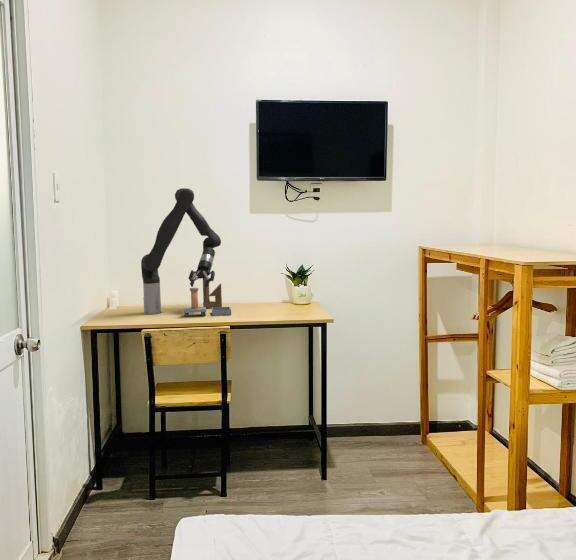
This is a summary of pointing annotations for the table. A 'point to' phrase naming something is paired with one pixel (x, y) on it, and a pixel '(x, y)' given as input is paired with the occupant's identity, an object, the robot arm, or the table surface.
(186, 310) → the trolley
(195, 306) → the stop pin
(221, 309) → the tray
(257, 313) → the table surface
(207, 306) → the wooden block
